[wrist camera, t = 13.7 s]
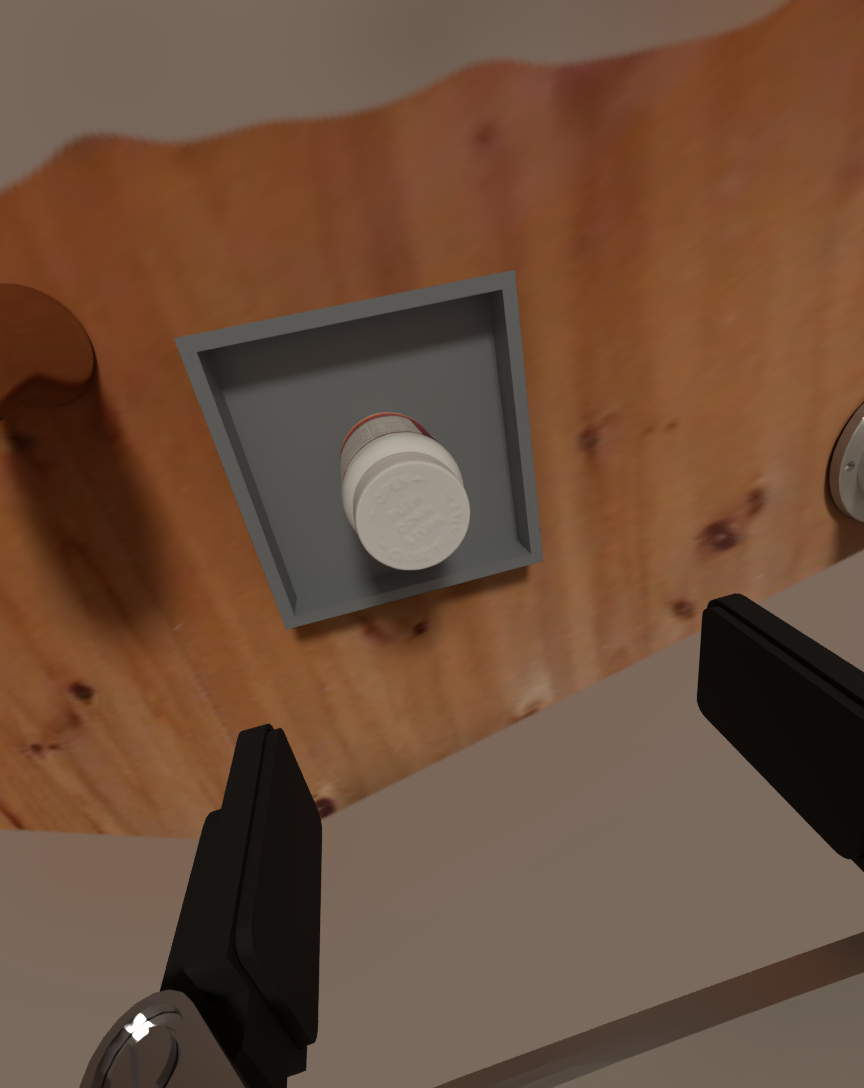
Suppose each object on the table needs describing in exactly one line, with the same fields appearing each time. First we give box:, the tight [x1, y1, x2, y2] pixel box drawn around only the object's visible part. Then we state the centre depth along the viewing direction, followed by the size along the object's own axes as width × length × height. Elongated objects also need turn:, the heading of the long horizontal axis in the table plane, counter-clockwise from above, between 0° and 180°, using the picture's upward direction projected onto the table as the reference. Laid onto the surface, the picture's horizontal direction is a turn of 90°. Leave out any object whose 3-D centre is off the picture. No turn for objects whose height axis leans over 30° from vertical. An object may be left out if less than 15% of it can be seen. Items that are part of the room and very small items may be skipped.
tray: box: [174, 270, 543, 630], centre depth 30 cm, size 18×18×3 cm
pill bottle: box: [340, 412, 470, 570], centre depth 26 cm, size 6×6×11 cm
